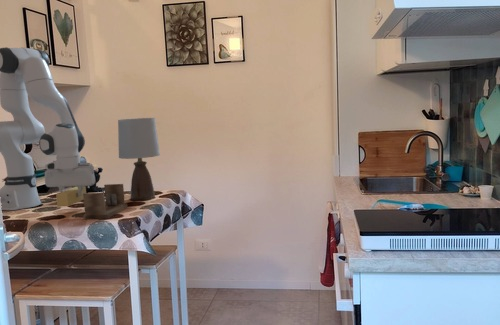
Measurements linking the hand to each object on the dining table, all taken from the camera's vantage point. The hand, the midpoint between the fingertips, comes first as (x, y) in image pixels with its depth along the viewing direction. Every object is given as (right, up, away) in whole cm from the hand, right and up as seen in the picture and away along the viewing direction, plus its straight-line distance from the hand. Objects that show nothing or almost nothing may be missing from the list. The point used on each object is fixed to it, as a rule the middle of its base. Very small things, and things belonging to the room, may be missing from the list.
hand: (72, 196), depth 191 cm
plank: (0, -2, 0) cm, 2 cm away
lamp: (+23, -3, +28) cm, 36 cm away
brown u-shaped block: (+14, -6, -1) cm, 16 cm away
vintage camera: (-4, -3, +35) cm, 36 cm away
